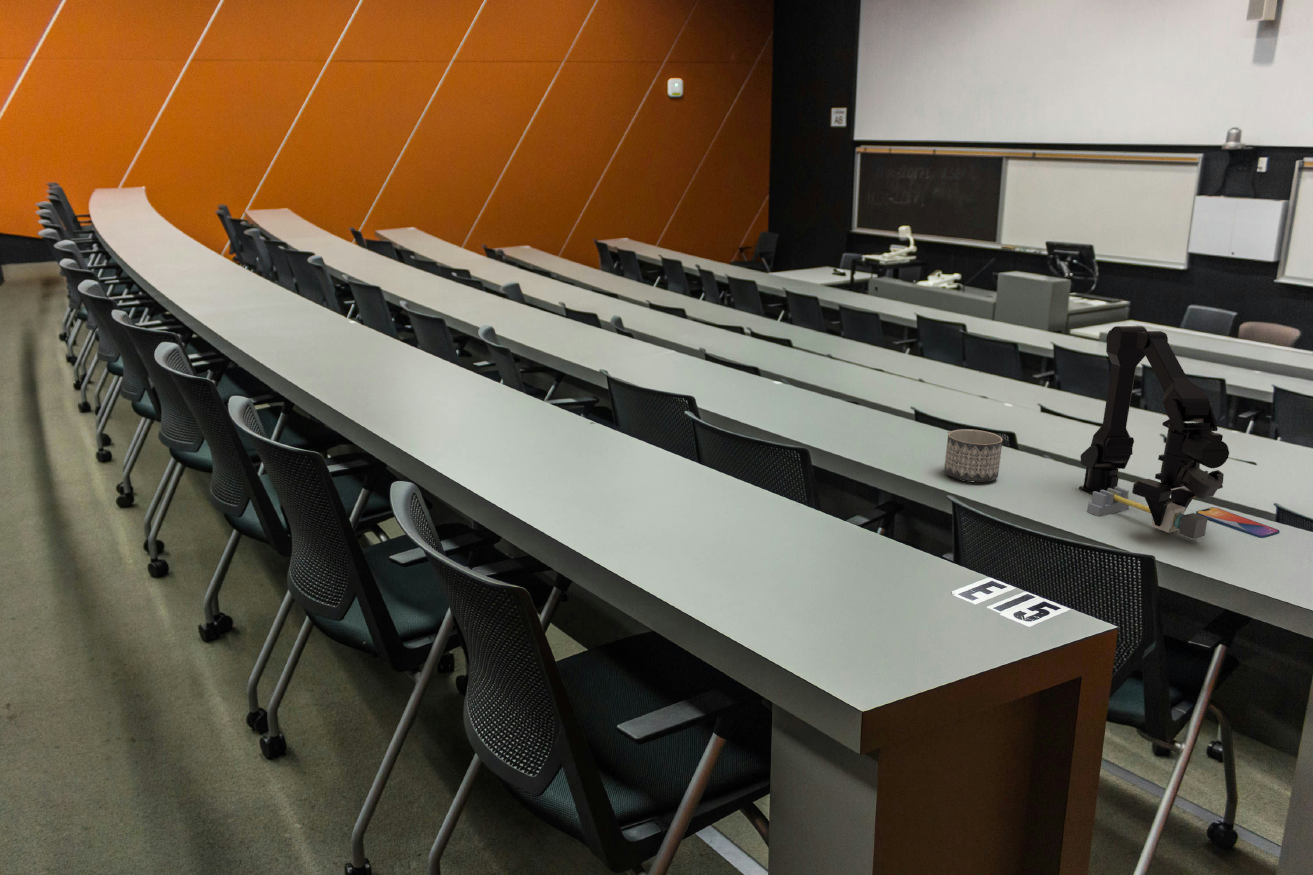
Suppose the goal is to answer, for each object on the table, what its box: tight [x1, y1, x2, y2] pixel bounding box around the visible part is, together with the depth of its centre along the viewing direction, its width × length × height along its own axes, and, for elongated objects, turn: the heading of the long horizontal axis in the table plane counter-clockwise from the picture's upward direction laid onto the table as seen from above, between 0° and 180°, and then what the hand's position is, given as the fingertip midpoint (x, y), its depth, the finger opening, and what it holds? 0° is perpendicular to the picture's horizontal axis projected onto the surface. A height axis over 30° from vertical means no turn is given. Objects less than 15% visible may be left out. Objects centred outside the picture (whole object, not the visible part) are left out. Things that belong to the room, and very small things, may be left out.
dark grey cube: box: [1178, 512, 1209, 540], centre depth 196 cm, size 4×4×4 cm
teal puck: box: [1174, 513, 1185, 529], centre depth 198 cm, size 1×3×3 cm, turn 118°
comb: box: [1086, 486, 1130, 517], centre depth 213 cm, size 3×10×5 cm, turn 118°
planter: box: [943, 428, 1004, 483], centre depth 233 cm, size 13×13×10 cm
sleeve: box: [1151, 503, 1186, 534], centre depth 201 cm, size 4×4×5 cm
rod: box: [1113, 494, 1176, 522], centre depth 205 cm, size 20×1×1 cm, turn 28°
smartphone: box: [1195, 507, 1280, 539], centre depth 207 cm, size 7×15×1 cm, turn 28°
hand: (1166, 523), depth 201 cm, fingers open, 6 cm apart
